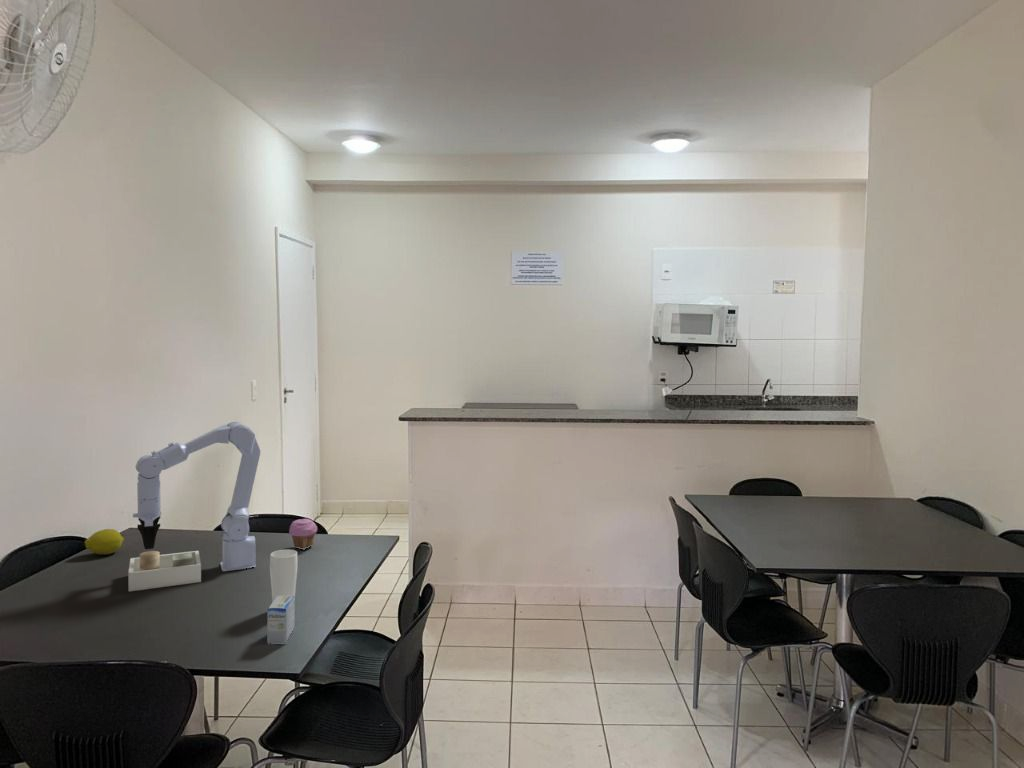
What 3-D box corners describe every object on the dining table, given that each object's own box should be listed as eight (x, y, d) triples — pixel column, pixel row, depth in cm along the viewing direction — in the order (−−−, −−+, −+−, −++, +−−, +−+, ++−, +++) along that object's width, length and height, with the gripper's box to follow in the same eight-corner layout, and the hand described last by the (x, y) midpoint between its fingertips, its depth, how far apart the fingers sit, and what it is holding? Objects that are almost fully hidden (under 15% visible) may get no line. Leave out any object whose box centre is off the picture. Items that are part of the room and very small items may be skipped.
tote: (198, 566, 202) (198, 550, 202) (201, 581, 190) (200, 564, 190) (130, 575, 194) (130, 558, 193) (128, 591, 181) (128, 573, 181)
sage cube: (191, 569, 197) (191, 553, 197) (192, 575, 193) (192, 558, 193) (172, 572, 195) (172, 555, 195) (173, 577, 190) (173, 560, 190)
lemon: (122, 548, 218) (122, 524, 217) (126, 554, 211) (125, 530, 211) (83, 554, 211) (83, 529, 210) (86, 561, 205) (85, 535, 204)
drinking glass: (271, 617, 167) (271, 558, 166) (268, 607, 173) (268, 551, 172) (299, 612, 170) (299, 555, 169) (294, 603, 176) (295, 547, 175)
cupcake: (305, 553, 217) (305, 523, 216) (283, 550, 220) (283, 520, 219) (322, 546, 225) (322, 517, 224) (301, 543, 228) (301, 514, 228)
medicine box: (276, 630, 160) (276, 595, 160) (295, 630, 160) (295, 595, 160) (266, 645, 152) (266, 608, 152) (286, 644, 153) (286, 608, 152)
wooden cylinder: (159, 573, 193) (159, 550, 193) (159, 579, 189) (159, 555, 189) (139, 576, 191) (139, 552, 191) (139, 581, 187) (139, 557, 186)
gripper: (133, 493, 193) (134, 539, 194) (131, 505, 180) (132, 554, 181) (161, 491, 196) (161, 536, 197) (161, 502, 183) (161, 550, 184)
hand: (149, 544), depth 189 cm, fingers open, 7 cm apart
